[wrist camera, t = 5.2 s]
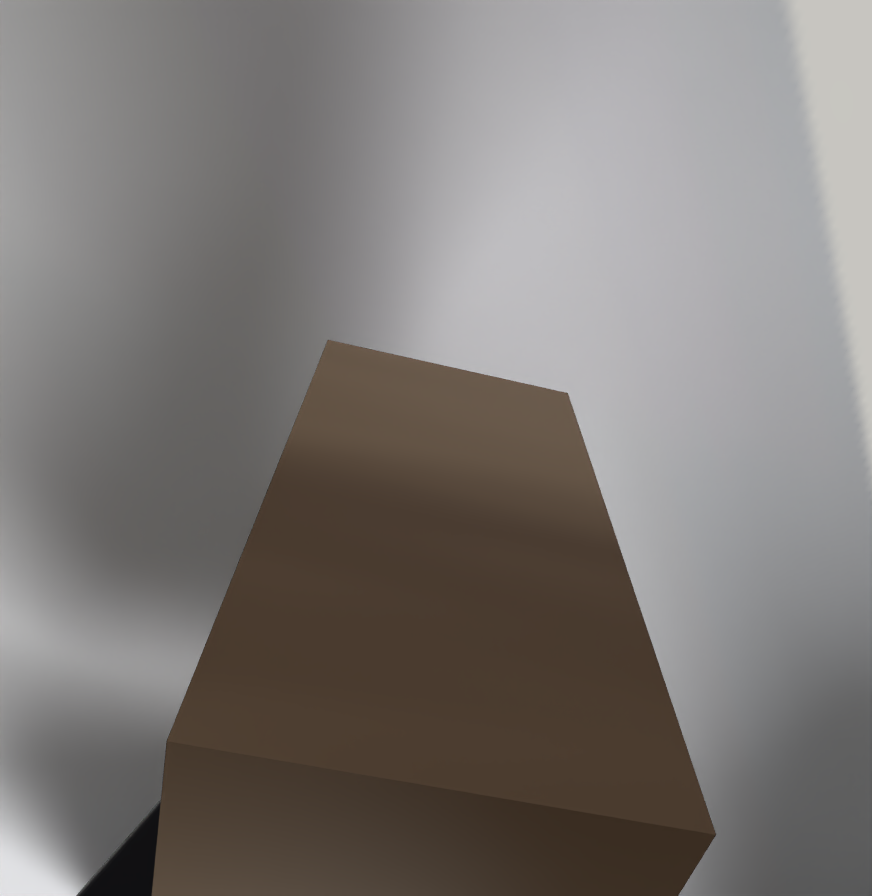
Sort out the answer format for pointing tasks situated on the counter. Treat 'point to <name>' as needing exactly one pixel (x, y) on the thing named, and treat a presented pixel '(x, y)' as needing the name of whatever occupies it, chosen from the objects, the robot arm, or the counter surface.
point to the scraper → (429, 665)
